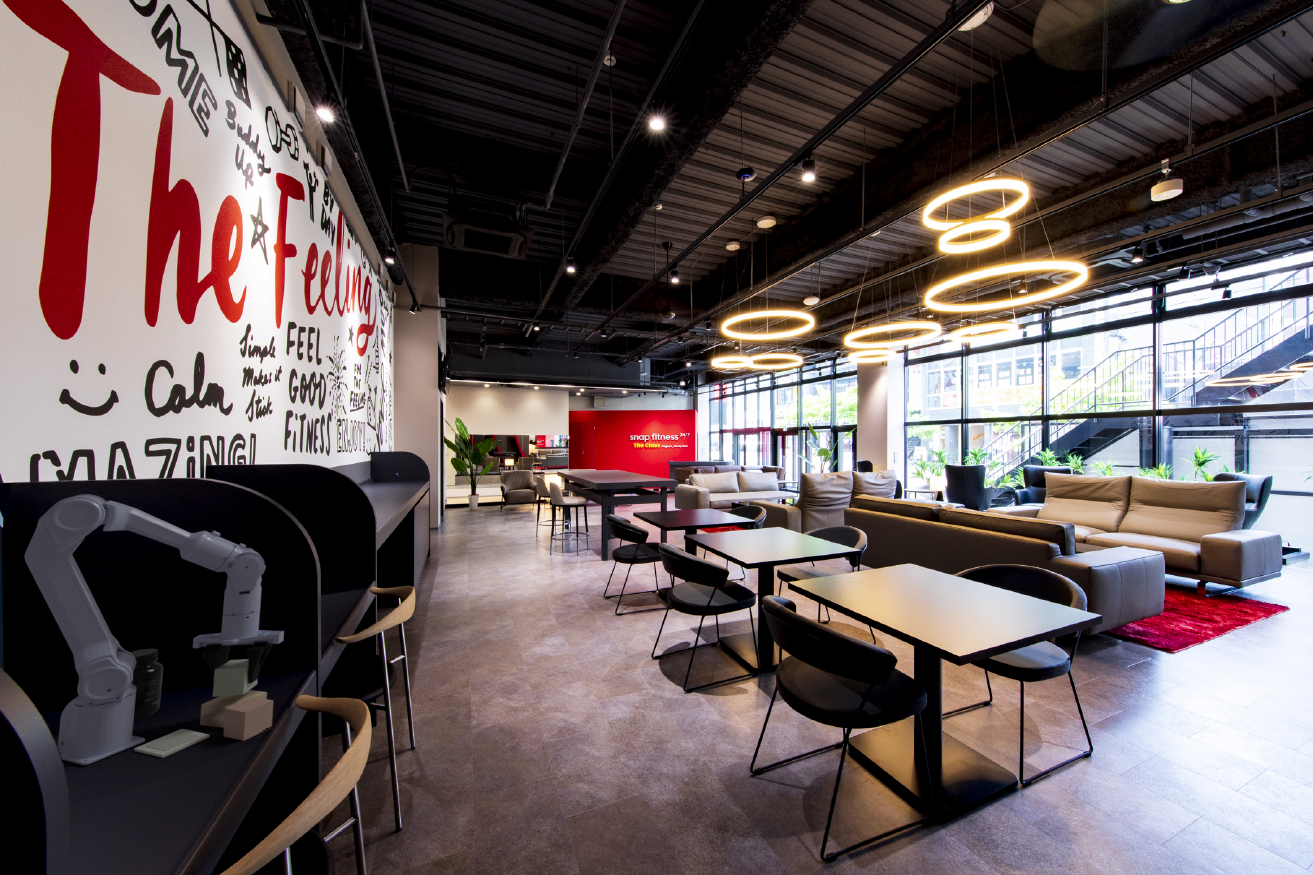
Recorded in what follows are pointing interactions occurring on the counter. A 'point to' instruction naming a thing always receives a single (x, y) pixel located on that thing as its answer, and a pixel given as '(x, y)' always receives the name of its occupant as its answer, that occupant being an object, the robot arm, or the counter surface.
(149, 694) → the supplement bottle
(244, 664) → the sage block
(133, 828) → the counter surface
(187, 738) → the card
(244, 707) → the terracotta block
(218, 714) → the maple block
